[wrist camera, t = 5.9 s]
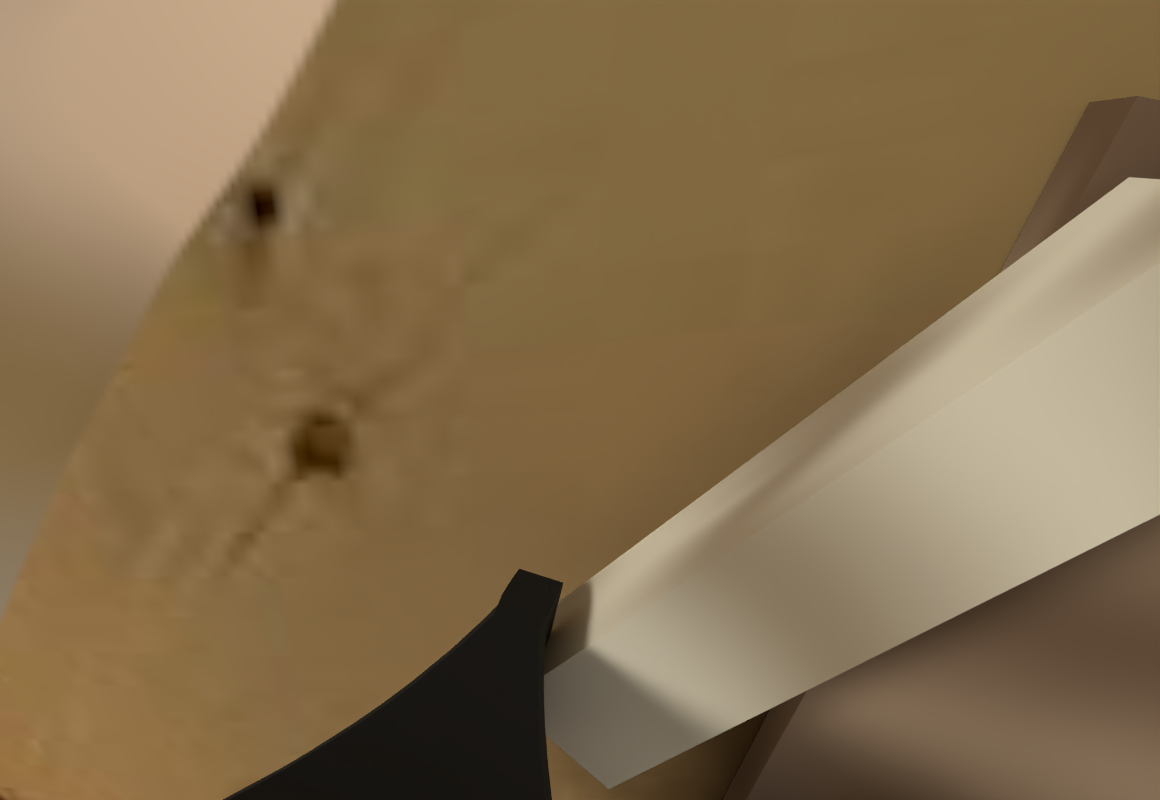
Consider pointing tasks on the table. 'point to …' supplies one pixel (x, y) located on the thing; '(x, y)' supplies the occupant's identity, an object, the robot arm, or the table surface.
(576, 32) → the table surface
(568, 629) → the hinged leg
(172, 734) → the table surface
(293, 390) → the table surface
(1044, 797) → the stool seat
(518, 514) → the table surface
